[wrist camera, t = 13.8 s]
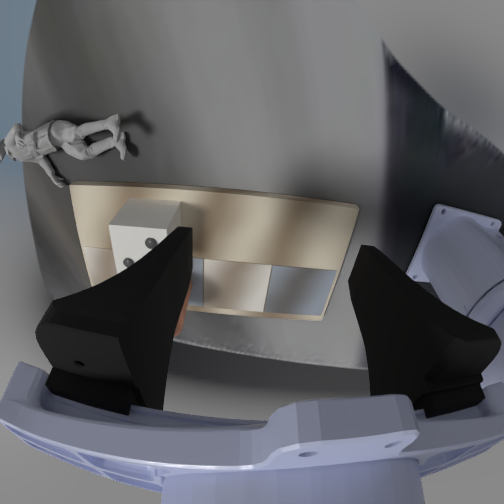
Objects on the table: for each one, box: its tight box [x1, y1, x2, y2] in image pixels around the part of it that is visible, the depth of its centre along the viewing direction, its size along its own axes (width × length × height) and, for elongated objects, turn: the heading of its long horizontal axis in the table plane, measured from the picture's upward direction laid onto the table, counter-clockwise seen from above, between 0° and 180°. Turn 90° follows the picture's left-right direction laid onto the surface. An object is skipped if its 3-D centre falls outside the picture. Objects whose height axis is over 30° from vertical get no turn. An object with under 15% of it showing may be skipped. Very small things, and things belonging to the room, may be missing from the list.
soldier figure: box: [0, 114, 127, 187], centre depth 17 cm, size 8×5×12 cm
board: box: [70, 181, 359, 321], centre depth 24 cm, size 22×12×1 cm, turn 84°
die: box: [109, 198, 181, 273], centre depth 20 cm, size 4×4×4 cm
